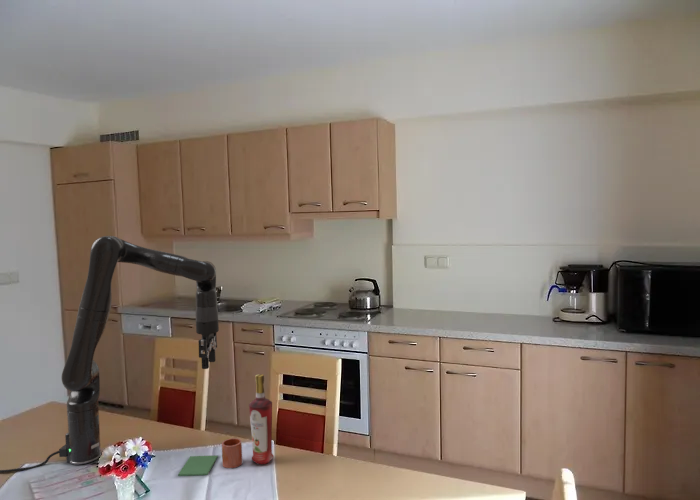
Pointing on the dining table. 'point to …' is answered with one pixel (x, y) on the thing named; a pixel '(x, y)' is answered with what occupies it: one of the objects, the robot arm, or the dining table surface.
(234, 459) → the flower pot
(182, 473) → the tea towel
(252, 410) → the liquor
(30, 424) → the dining table surface
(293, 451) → the dining table surface
